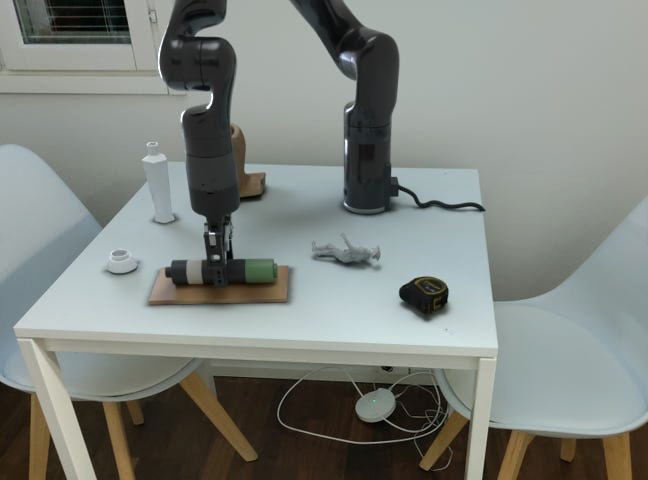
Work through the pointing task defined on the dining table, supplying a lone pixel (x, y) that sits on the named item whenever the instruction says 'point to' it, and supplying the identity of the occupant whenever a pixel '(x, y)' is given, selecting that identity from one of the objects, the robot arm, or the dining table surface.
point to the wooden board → (219, 291)
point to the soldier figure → (347, 251)
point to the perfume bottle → (158, 183)
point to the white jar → (121, 261)
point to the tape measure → (425, 294)
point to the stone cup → (246, 182)
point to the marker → (236, 271)
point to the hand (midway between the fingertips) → (224, 272)
